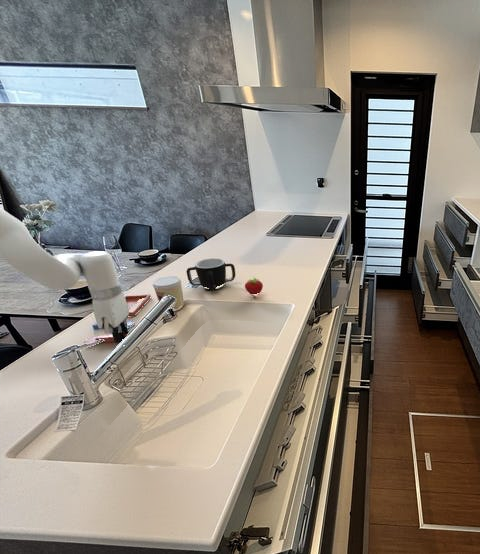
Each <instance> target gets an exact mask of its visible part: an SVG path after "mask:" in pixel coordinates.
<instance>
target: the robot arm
mask: <svg viewBox="0 0 480 554" xmlns="http://www.w3.org/2000/svg"><path fill="white" fill-rule="evenodd" d="M0 258H2V259H3V260H4V261H5V262H6V263H8V264H9V265H10V266H11V267H12V268H14V269H15V270H16V271H17V272H20V273H21V274H22V275H24V276H25V277H27V278H29V279H31V280H32V281H35V282H36V283H38V284H40V285H42V286H43V287H46V288H47V289H48V288H49V289H52V290H56V291H57V290H58V291H63V290H64V291H65V290H69V289H71V288H73V287H74V286H76V285H77V284H78V283H79V280H80V278H81V277H84V279H85V282H86V285H87V289H88V291H89V293H90V296H91V299H92V301H91V302H92V310H93V315H94V319H95V323H97V325H98V327H99V328H100V329H99V330H102V329H101V328H103V327H104V328H105V329H104V333H105V334H111V335H113V338H114V343H121V342H120V341H122V339H124V338H125V334H128V333H129V334H130V332H129V328H128V329H127V322H128V321H127V316H128V314H129V308H128V305H127V302H126V299H125V297H124V296H125V295H124V291H123V288H122V285H121V282H120V278H119V275H118V272H117V269H116V265H115V262H114V259H113V256H112V255H111V253H109V252H107V251H101V250H100V251H99V250H97V251H90V252H87V253H59V254H55V255H52V254H51V253H49V252H48V251H46V250H45V249H44V248H43V247H42V246H41V245H40V244H38V243H37V242H36V240H35V239H34V238H33V236H32V235H31V233H30V231H29V229H28V228H27V226H26V225H25V224H24V223H23V222H22V221H21V220H20V219H18V218H17V217H15V216H14V215H12V214H10V213H9V212H8V211H6V210H4V209H3V208H1V207H0ZM113 327H114V328H113ZM115 327H116V328H115Z"/></svg>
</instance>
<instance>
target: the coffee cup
mask: <svg viewBox="0 0 480 554" xmlns="http://www.w3.org/2000/svg"><path fill="white" fill-rule="evenodd" d="M152 287H153V289H154V292H155V295H156V298H157V301H158V302H159V301H160V300H161V299H162V298H163V297H164V296H165V295H171V296H173V297H175V298H176V299H177V303H176V304H175V306H174V307H173V308H174V309H178V308H179V307H180V306H182V305H183V302H184V303H185V301H184V300H185V299H184V294H183V287H182V280H181V278H180V277H178V276H164V277H160V278H158V279H155V280H154V281H153V283H152ZM181 310H182V309H180V310H179V311H181Z"/></svg>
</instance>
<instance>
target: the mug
mask: <svg viewBox="0 0 480 554" xmlns="http://www.w3.org/2000/svg"><path fill="white" fill-rule="evenodd" d="M228 267H230V268H231V277H230V278H227V269H226V268H228ZM191 271H195V273H196V276H197V278H198V281H197V282H196V281H195V280H193V278H192V274H191V273H192V272H191ZM186 276H187V280H188V282H189V283H190V284H191V285H192V286H196V287H197V286H201V287H202V286H203V287H207V288H209V289H210V290H209V291H215V290H214V289H215V288H216V287H217V286H220V285H222V284H224V283H225V284H226V283H229V281H230V282H233V281H234V280H235V278H236V267H235V265H234V264H233V263H226V261H225V260H224V259H222V258H205V259H202V260H199V261H197V262H195V264H194V266H192V267H188V268H187V269H186ZM203 287H202V288H203Z"/></svg>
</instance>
